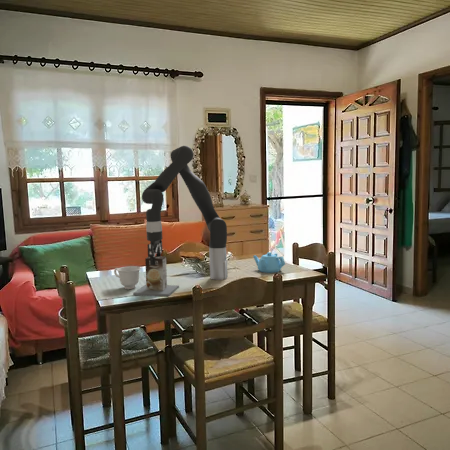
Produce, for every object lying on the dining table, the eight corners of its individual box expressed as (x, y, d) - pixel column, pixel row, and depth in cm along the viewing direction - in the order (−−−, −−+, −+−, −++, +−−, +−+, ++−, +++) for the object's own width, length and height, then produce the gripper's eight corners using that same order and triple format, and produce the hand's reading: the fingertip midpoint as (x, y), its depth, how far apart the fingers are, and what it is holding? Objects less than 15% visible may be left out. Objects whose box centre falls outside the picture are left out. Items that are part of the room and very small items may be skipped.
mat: (179, 287, 218) (178, 285, 218) (169, 296, 203) (168, 294, 203) (145, 286, 222) (145, 284, 222) (133, 295, 206) (133, 293, 206)
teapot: (260, 274, 242) (260, 255, 241) (252, 269, 257) (252, 251, 256) (286, 272, 246) (286, 254, 245) (277, 267, 260) (276, 249, 259)
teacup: (122, 283, 229) (121, 265, 228) (146, 285, 224) (145, 266, 223) (108, 289, 218) (107, 270, 217) (133, 291, 213) (132, 271, 211)
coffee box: (145, 290, 210) (144, 258, 208) (150, 287, 216) (148, 255, 214) (163, 291, 208) (162, 258, 207) (167, 287, 215) (166, 256, 213)
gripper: (152, 228, 216) (153, 260, 218) (141, 232, 202) (143, 266, 204) (166, 228, 215) (167, 260, 217) (156, 232, 201) (158, 266, 203)
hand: (156, 263), depth 211 cm, fingers open, 8 cm apart
